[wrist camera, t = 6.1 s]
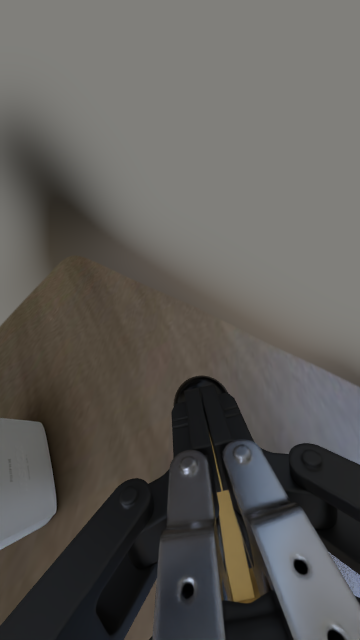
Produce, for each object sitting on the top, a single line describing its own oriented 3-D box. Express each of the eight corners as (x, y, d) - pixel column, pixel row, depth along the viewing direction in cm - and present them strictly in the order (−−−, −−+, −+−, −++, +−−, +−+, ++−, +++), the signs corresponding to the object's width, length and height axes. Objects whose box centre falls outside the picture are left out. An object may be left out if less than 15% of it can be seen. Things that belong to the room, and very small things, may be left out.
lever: (170, 378, 16) (166, 386, 12) (219, 368, 16) (227, 373, 12) (220, 622, 14) (230, 703, 11) (275, 611, 14) (301, 688, 11)
